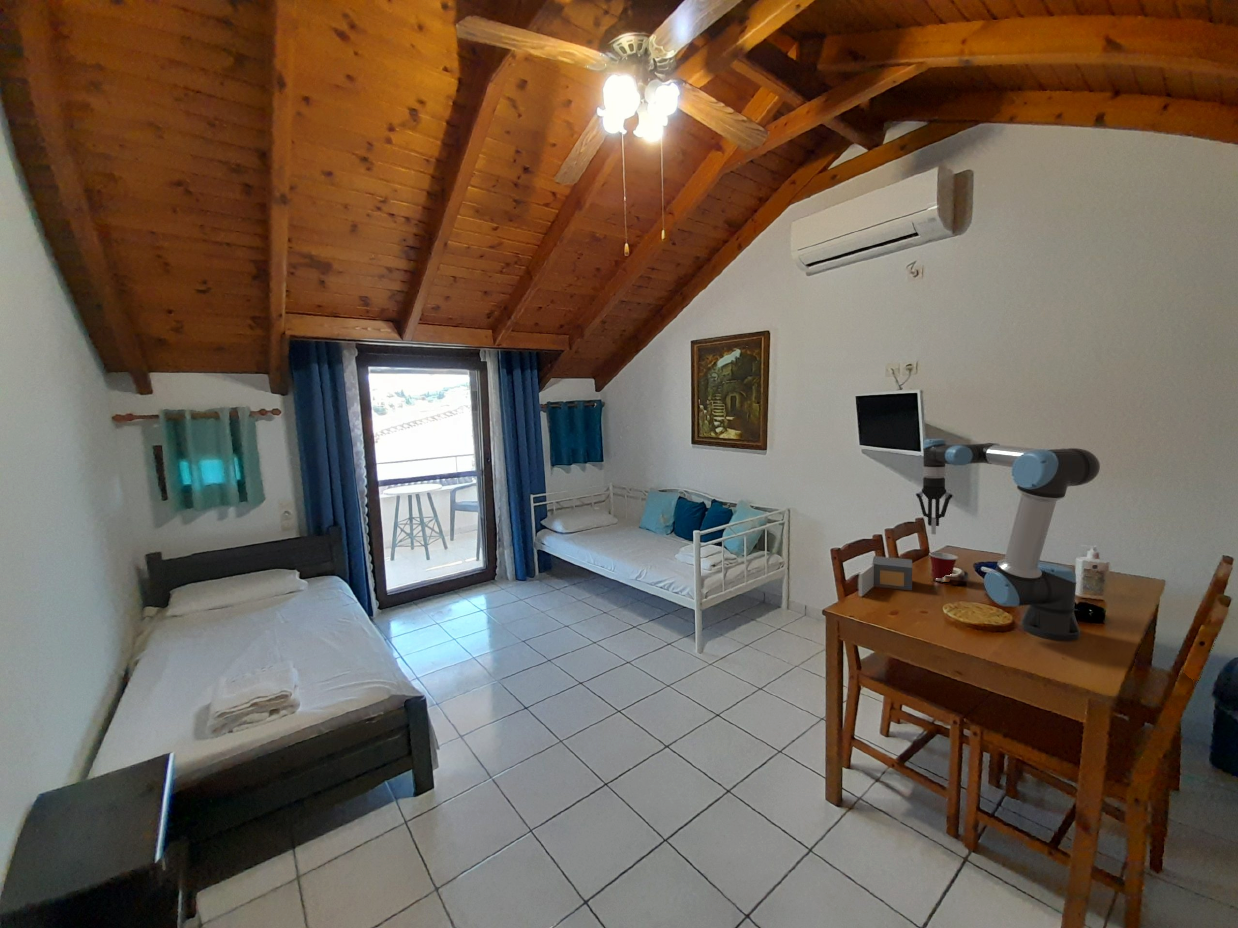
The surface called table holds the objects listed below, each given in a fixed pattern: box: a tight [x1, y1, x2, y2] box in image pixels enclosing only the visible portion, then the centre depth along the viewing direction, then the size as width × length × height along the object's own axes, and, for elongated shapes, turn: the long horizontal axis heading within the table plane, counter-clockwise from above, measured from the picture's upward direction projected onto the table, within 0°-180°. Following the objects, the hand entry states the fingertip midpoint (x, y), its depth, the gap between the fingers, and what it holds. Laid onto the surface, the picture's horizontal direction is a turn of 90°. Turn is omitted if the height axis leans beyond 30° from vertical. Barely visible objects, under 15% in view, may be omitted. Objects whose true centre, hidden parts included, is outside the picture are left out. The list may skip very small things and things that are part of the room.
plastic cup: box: [928, 551, 959, 579], centre depth 218 cm, size 11×11×12 cm
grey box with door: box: [871, 555, 913, 592], centre depth 218 cm, size 14×15×10 cm
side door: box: [857, 563, 875, 598], centre depth 211 cm, size 2×16×10 cm, turn 136°
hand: (933, 533), depth 204 cm, fingers closed
